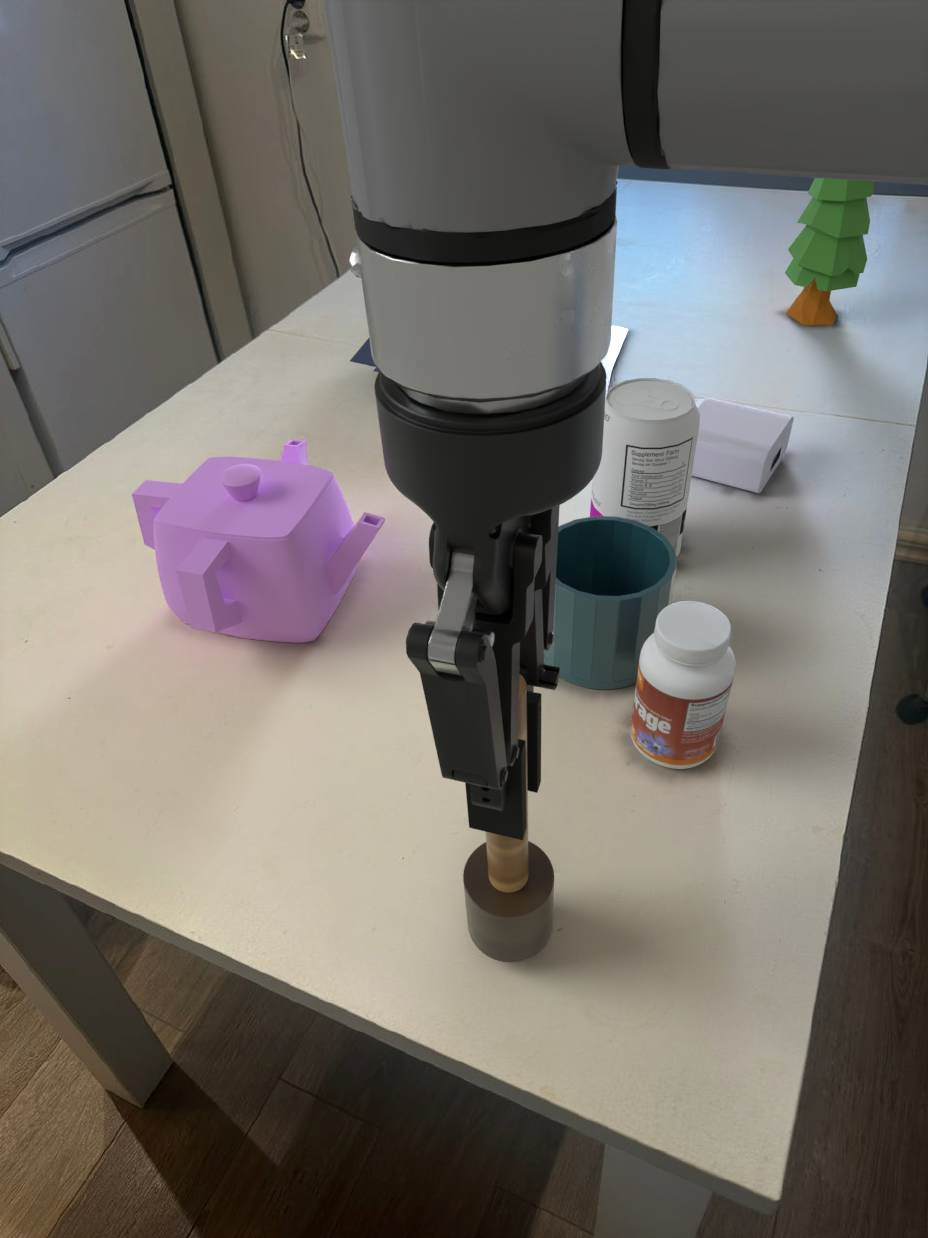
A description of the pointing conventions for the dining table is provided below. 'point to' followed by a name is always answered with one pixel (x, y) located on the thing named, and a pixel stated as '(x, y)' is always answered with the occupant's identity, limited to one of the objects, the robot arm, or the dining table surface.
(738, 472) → the charger
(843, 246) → the decorative tree
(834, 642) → the dining table surface
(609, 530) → the jar
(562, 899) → the dining table surface
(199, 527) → the teakettle
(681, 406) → the supplement can
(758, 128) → the robot arm
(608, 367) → the dark blue flat slab
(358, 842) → the dining table surface
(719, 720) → the pill bottle
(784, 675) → the dining table surface
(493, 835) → the brush
